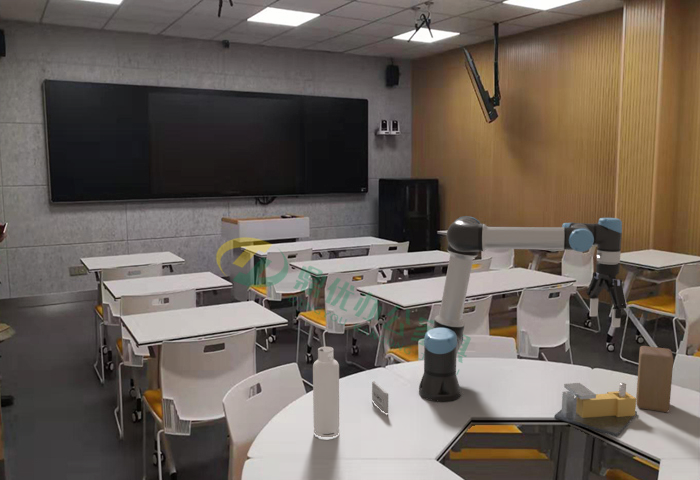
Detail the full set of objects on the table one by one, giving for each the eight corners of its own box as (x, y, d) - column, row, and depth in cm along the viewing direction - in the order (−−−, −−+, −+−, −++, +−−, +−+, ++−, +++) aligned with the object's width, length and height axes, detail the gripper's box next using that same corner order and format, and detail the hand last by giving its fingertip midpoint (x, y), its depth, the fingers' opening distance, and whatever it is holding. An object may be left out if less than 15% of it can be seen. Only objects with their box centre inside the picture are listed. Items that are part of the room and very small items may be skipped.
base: (554, 418, 196) (556, 386, 194) (577, 398, 211) (579, 369, 210) (617, 436, 183) (619, 403, 181) (636, 414, 198) (639, 383, 197)
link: (623, 407, 201) (624, 390, 201) (635, 415, 195) (636, 398, 194) (574, 411, 199) (575, 394, 198) (584, 419, 192) (585, 402, 192)
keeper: (577, 411, 201) (579, 382, 199) (594, 424, 191) (596, 394, 190) (556, 412, 200) (557, 384, 198) (571, 426, 190) (573, 396, 188)
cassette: (389, 415, 199) (389, 393, 198) (384, 416, 198) (384, 394, 197) (375, 401, 210) (375, 380, 209) (370, 402, 209) (370, 381, 208)
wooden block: (667, 402, 208) (671, 348, 205) (669, 413, 199) (673, 357, 196) (636, 397, 212) (639, 344, 209) (636, 408, 203) (640, 353, 200)
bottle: (330, 442, 180) (329, 355, 175) (308, 436, 184) (307, 350, 180) (344, 432, 186) (343, 347, 182) (323, 426, 191) (322, 343, 187)
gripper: (578, 256, 215) (575, 312, 219) (619, 269, 191) (615, 332, 194) (597, 255, 217) (594, 311, 220) (640, 268, 192) (636, 331, 195)
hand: (604, 321), depth 207 cm, fingers open, 13 cm apart
